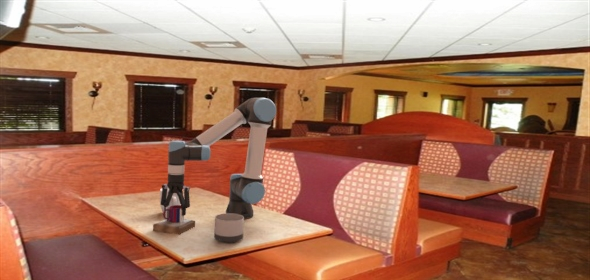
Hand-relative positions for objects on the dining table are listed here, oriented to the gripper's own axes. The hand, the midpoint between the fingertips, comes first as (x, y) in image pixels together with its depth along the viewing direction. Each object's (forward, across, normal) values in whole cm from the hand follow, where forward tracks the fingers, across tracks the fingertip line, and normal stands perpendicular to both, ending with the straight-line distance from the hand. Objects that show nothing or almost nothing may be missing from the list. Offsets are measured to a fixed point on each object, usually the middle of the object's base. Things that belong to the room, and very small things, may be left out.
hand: (174, 221), depth 202 cm
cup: (0, +1, 0) cm, 1 cm away
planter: (+4, -30, +4) cm, 31 cm away
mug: (+4, +16, -23) cm, 28 cm away
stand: (+4, 0, 0) cm, 4 cm away
